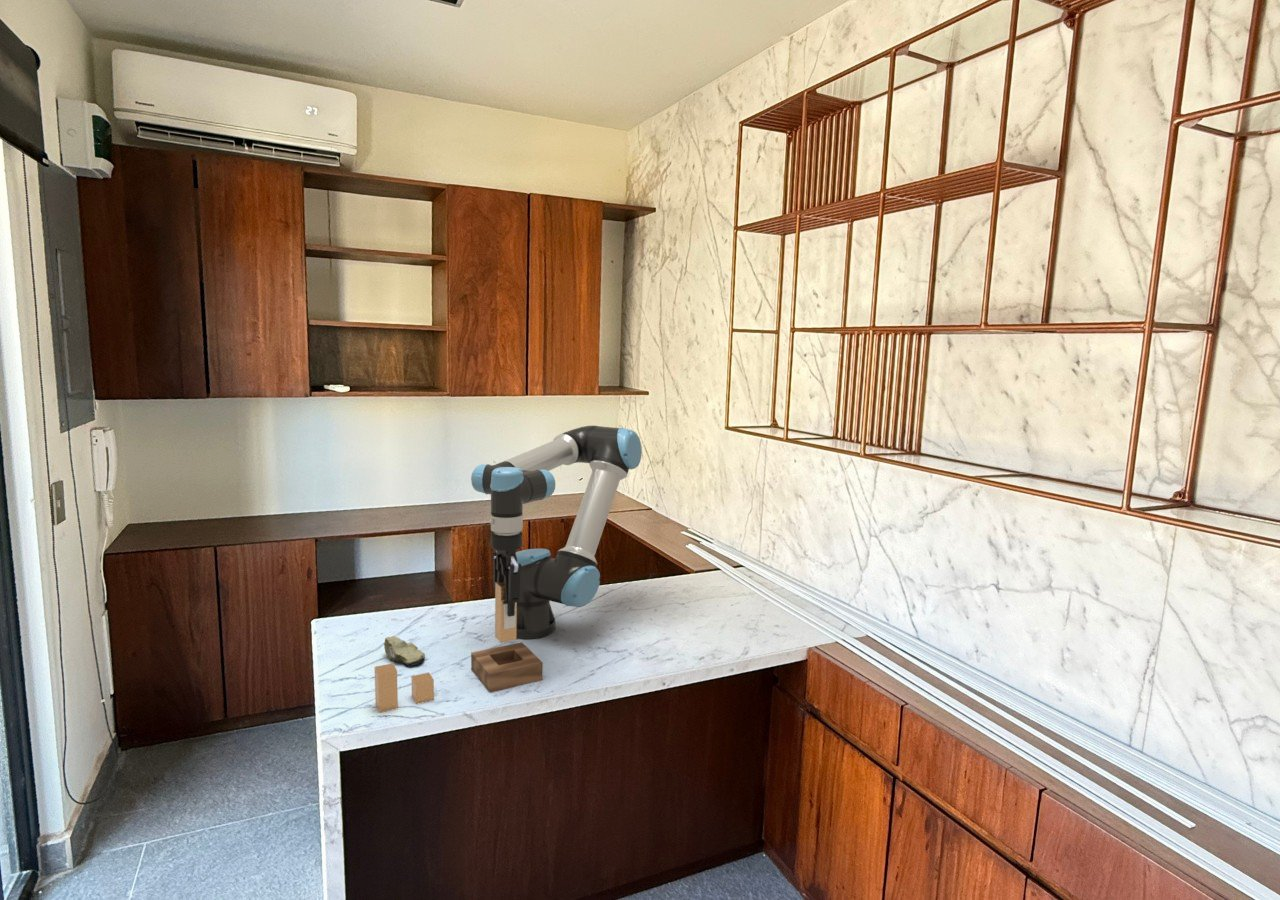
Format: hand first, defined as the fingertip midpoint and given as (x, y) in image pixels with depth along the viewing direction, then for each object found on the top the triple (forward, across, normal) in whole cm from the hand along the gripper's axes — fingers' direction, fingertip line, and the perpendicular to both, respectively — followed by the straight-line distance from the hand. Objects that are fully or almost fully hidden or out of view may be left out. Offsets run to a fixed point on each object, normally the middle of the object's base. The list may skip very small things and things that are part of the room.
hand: (505, 624), depth 170 cm
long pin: (+4, 0, 0) cm, 4 cm away
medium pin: (+13, +2, -29) cm, 32 cm away
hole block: (+13, 0, 0) cm, 13 cm away
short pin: (+13, +2, -21) cm, 25 cm away
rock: (+14, -20, -20) cm, 32 cm away
